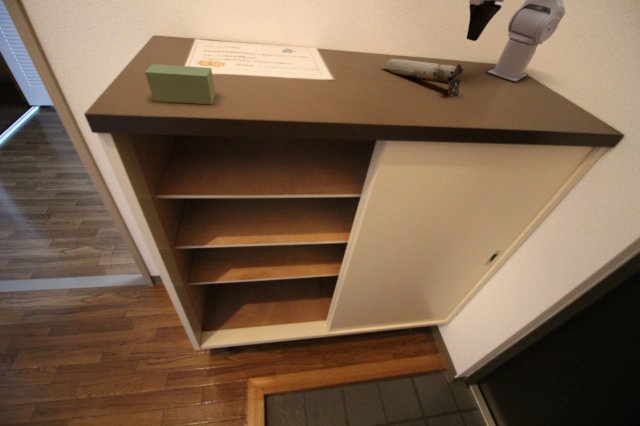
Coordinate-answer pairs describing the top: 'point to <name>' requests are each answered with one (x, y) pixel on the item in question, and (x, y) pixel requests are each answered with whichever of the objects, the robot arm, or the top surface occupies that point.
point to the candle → (428, 72)
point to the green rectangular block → (181, 84)
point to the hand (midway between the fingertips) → (471, 39)
